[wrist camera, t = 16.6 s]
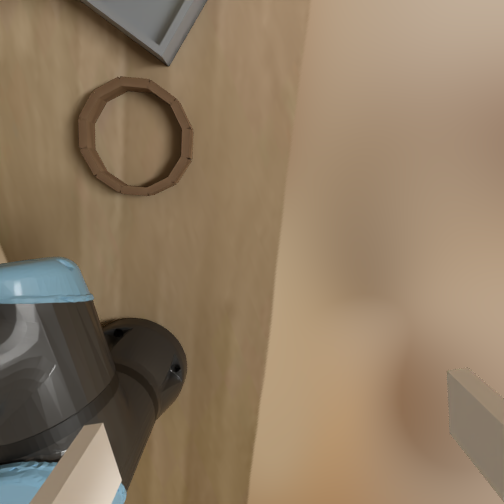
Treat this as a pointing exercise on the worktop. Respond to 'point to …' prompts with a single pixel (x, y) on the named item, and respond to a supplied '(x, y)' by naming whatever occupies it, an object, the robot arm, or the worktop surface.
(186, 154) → the ring holder
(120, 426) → the robot arm
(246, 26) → the worktop surface
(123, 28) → the grey tray
